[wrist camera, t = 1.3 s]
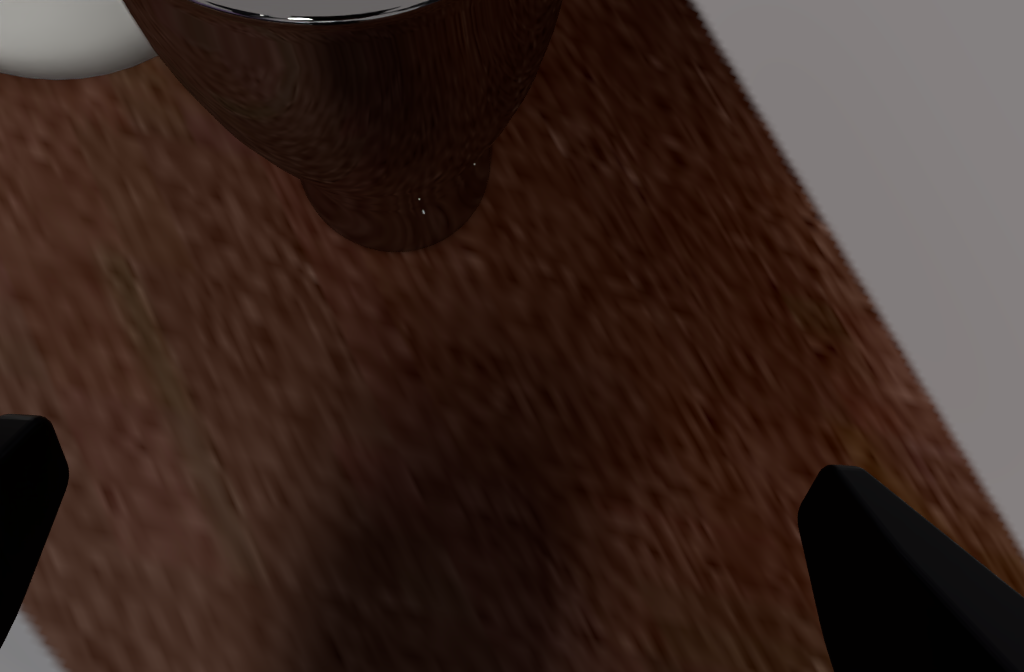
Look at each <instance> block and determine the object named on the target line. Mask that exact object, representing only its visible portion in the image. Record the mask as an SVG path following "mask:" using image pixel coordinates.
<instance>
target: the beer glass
mask: <svg viewBox="0 0 1024 672" xmlns="http://www.w3.org/2000/svg"><path fill="white" fill-rule="evenodd" d="M117 1H118V3H119V4H120V6H121V7H122V8H123V10H124V11H125V13H126V14H127V16H128V17H129V18H130V20H131V21H132V23H133V24H134V25H135V27H136V28H137V30H138V31H139V32H140V34H141V35H142V36H143V37H144V39H145V40H146V41H147V42H148V44H149V45H150V46H151V47H152V49H153V50H154V51H155V52H156V54H157V55H158V56H159V57H160V59H161V60H162V61H163V62H164V63H165V65H166V66H167V67H168V68H169V70H170V71H171V72H172V73H173V75H174V76H175V77H176V78H177V80H178V81H179V82H180V83H181V84H182V85H183V87H184V88H185V89H186V90H187V91H188V92H189V93H190V94H191V95H192V96H193V97H194V98H195V99H196V100H197V101H198V102H199V103H200V104H201V105H202V106H203V107H204V108H205V109H206V110H207V111H208V112H209V113H210V114H211V115H212V116H213V117H214V118H215V119H216V120H217V121H218V122H219V123H220V124H221V125H222V126H223V127H224V128H225V129H226V130H227V131H229V132H230V133H231V134H232V135H233V136H234V137H235V138H237V139H238V140H239V141H240V142H242V143H243V144H244V145H246V146H247V147H249V148H250V149H251V150H253V151H254V152H256V153H257V154H259V155H260V156H262V157H263V158H265V159H266V160H268V161H269V162H271V163H272V164H274V165H276V166H277V167H279V168H280V169H282V170H283V171H285V172H287V173H289V174H291V175H292V176H294V177H296V178H298V179H300V181H301V184H302V187H303V189H304V191H305V194H306V196H307V198H308V200H309V201H310V203H311V205H312V206H313V208H314V209H315V211H316V212H317V213H318V215H319V216H320V217H321V218H322V219H323V221H324V222H325V223H326V224H327V225H328V226H330V227H331V228H332V229H333V230H334V231H336V232H337V233H338V234H340V235H341V236H343V237H344V238H346V239H348V240H350V241H352V242H354V243H356V244H358V245H361V246H363V247H366V248H370V249H374V250H378V251H384V252H409V251H415V250H420V249H423V248H427V247H430V246H432V245H435V244H437V243H439V242H441V241H443V240H445V239H446V238H448V237H449V236H451V235H452V234H454V233H455V232H456V231H457V230H459V229H460V228H461V227H462V226H463V225H464V224H465V223H466V222H467V221H468V220H469V219H470V217H471V216H472V215H473V213H474V212H475V211H476V209H477V207H478V206H479V204H480V202H481V200H482V198H483V196H484V193H485V190H486V187H487V183H488V178H489V172H490V146H491V145H492V144H493V143H494V142H495V140H496V139H497V138H498V137H499V135H500V134H501V133H502V131H503V130H504V129H505V127H506V126H507V124H508V123H509V121H510V120H511V118H512V117H513V115H514V114H515V112H516V111H517V109H518V108H519V106H520V105H521V103H522V102H523V100H524V98H525V97H526V95H527V93H528V91H529V90H530V88H531V86H532V83H533V81H534V79H535V77H536V74H537V72H538V70H539V67H540V65H541V62H542V60H543V57H544V55H545V52H546V50H547V47H548V45H549V42H550V40H551V37H552V35H553V32H554V29H555V26H556V22H557V19H558V15H559V12H560V8H561V4H562V1H563V0H117Z"/></svg>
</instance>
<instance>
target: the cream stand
mask: <svg viewBox="0 0 1024 672" xmlns="http://www.w3.org/2000/svg"><path fill="white" fill-rule="evenodd" d="M156 56H158V55H157V54H156V52H155V51H154V50H153V49H152V47H151V46H150V45H149V44H148V42H147V41H146V40H145V39H144V37H143V36H142V35H141V34H140V32H139V31H138V30H137V28H136V27H135V25H134V24H133V23H132V21H131V20H130V18H129V17H128V16H127V14H126V13H125V11H124V10H123V8H122V7H121V6H120V4H119V3H118V1H117V0H0V73H4V74H10V75H15V76H20V77H25V78H35V79H49V80H64V79H83V78H89V77H94V76H100V75H106V74H110V73H114V72H117V71H120V70H123V69H127V68H130V67H133V66H136V65H138V64H140V63H142V62H145V61H147V60H149V59H151V58H154V57H156Z"/></svg>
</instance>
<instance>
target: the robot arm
mask: <svg viewBox="0 0 1024 672" xmlns="http://www.w3.org/2000/svg"><path fill="white" fill-rule="evenodd" d="M68 480H69V468H68V464H67V461H66V459H65V456H64V453H63V451H62V448H61V446H60V443H59V441H58V438H57V435H56V433H55V430H54V428H53V425H52V423H51V422H50V421H49V420H48V419H47V418H46V417H42V416H37V415H21V414H6V415H2V416H0V648H1V646H2V644H3V642H4V641H5V639H6V637H7V635H8V632H9V630H10V628H11V626H12V624H13V622H14V620H15V618H16V616H17V614H18V611H19V609H20V607H21V604H22V602H23V600H24V597H25V595H26V592H27V590H28V587H29V584H30V582H31V579H32V577H33V574H34V571H35V569H36V566H37V564H38V561H39V558H40V556H41V553H42V551H43V548H44V546H45V543H46V540H47V538H48V535H49V533H50V530H51V527H52V525H53V522H54V520H55V517H56V514H57V512H58V509H59V507H60V504H61V501H62V499H63V496H64V494H65V491H66V488H67V485H68ZM798 527H799V532H800V536H801V541H802V545H803V550H804V554H805V559H806V563H807V568H808V572H809V576H810V581H811V585H812V590H813V594H814V599H815V603H816V608H817V612H818V617H819V621H820V625H821V629H822V633H823V637H824V641H825V644H826V648H827V651H828V654H829V657H830V660H831V664H832V667H833V670H834V672H1024V597H1022V596H1021V595H1020V594H1019V593H1017V592H1016V591H1015V590H1014V589H1012V588H1011V587H1010V586H1009V585H1007V584H1006V583H1005V582H1004V581H1002V580H1001V579H1000V578H999V577H997V576H996V575H995V574H994V573H992V572H991V571H990V570H989V569H987V568H986V567H985V566H984V565H982V564H981V563H980V562H979V561H977V560H976V559H975V558H974V557H972V556H971V555H970V554H969V553H967V552H966V551H965V550H964V549H962V548H961V547H960V546H959V545H957V544H956V543H955V542H954V541H953V540H951V539H950V538H949V537H948V536H946V535H945V534H944V533H943V532H941V531H940V530H939V529H938V528H936V527H935V526H934V525H933V524H931V523H930V522H929V521H928V520H926V519H925V518H924V517H923V516H921V515H920V514H919V513H918V512H916V511H915V510H914V509H913V508H911V507H910V506H909V505H908V504H906V503H905V502H904V501H903V500H901V499H900V498H899V497H898V496H896V495H895V494H894V493H893V492H891V491H890V490H889V489H888V488H886V487H885V486H884V485H883V484H881V483H880V482H879V481H878V480H877V479H875V478H874V477H873V476H872V475H870V474H869V473H868V472H866V471H865V470H864V469H862V468H860V467H856V466H844V465H827V466H825V467H824V468H823V469H821V471H820V472H819V474H818V475H817V477H816V479H815V481H814V482H813V484H812V486H811V487H810V489H809V491H808V493H807V494H806V496H805V498H804V500H803V501H802V503H801V505H800V508H799V511H798Z"/></svg>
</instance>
